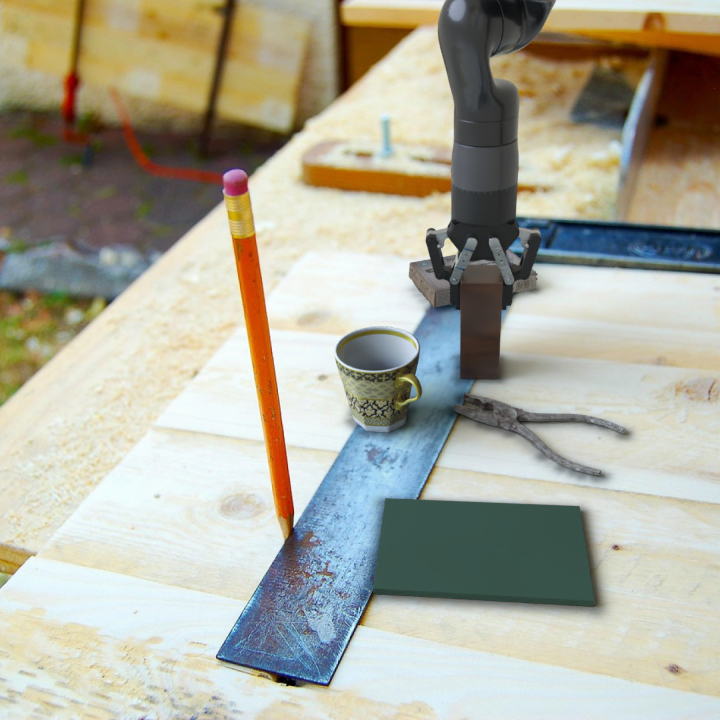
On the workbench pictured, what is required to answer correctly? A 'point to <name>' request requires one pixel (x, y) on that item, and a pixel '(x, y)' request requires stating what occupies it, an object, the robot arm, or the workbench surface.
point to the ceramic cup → (379, 375)
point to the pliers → (511, 415)
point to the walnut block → (480, 322)
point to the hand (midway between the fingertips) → (480, 306)
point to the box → (440, 289)
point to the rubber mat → (483, 552)
